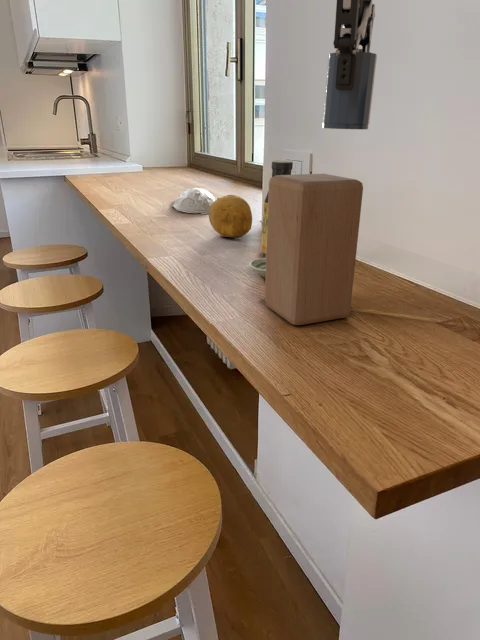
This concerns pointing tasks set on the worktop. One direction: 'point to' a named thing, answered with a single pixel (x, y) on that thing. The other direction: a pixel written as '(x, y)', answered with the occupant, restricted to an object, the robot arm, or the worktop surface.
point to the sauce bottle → (277, 169)
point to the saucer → (259, 266)
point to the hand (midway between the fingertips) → (348, 91)
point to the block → (311, 246)
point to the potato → (230, 216)
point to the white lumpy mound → (194, 201)
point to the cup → (350, 94)
